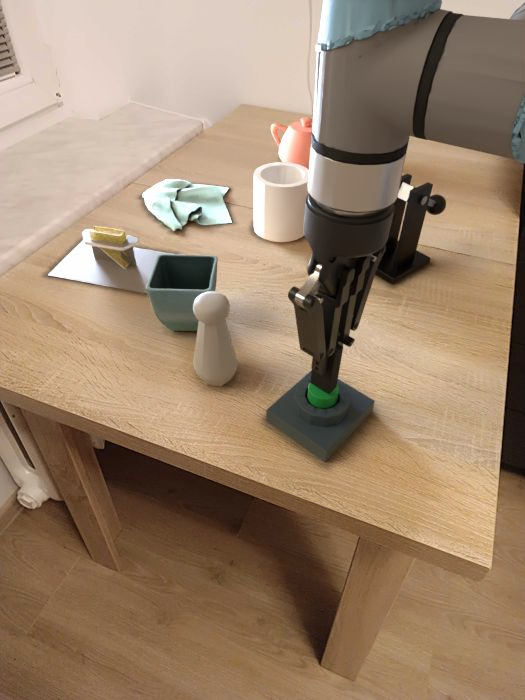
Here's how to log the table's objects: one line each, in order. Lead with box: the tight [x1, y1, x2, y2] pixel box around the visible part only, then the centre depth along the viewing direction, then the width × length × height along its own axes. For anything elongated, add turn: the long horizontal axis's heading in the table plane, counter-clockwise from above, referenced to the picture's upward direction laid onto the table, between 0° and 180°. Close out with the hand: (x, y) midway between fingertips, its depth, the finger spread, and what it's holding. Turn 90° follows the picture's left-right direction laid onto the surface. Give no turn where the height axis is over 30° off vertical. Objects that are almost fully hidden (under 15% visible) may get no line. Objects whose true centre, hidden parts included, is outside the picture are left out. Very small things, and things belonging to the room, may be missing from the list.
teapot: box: [270, 116, 313, 170], centre depth 114 cm, size 12×18×10 cm
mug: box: [253, 161, 309, 243], centre depth 92 cm, size 14×10×11 cm
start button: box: [307, 383, 339, 409], centre depth 59 cm, size 4×4×2 cm
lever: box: [397, 182, 447, 216], centre depth 82 cm, size 13×3×3 cm, turn 129°
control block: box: [265, 369, 376, 463], centre depth 61 cm, size 10×9×4 cm
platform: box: [47, 225, 176, 294], centre depth 84 cm, size 12×18×7 cm, turn 74°
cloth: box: [141, 178, 233, 232], centre depth 100 cm, size 20×22×2 cm
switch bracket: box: [375, 173, 434, 285], centre depth 82 cm, size 10×8×15 cm
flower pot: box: [146, 253, 219, 332], centre depth 72 cm, size 9×9×9 cm
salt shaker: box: [192, 290, 239, 387], centre depth 63 cm, size 6×6×13 cm
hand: (323, 384), depth 58 cm, fingers closed
